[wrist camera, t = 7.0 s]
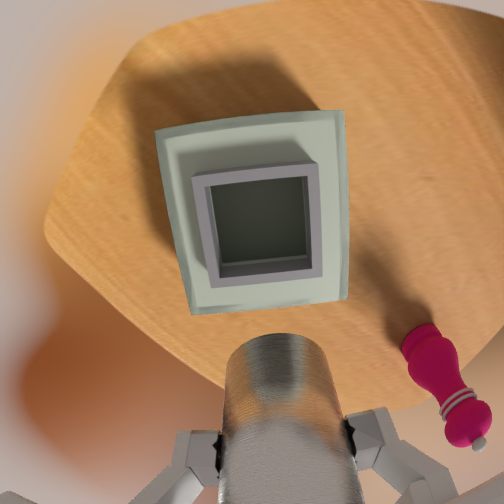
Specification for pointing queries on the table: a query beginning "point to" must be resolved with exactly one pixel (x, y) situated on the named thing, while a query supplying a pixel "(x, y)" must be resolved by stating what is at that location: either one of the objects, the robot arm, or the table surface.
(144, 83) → the table surface
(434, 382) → the pepper mill
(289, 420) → the canister
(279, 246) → the green square holder
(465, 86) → the table surface
